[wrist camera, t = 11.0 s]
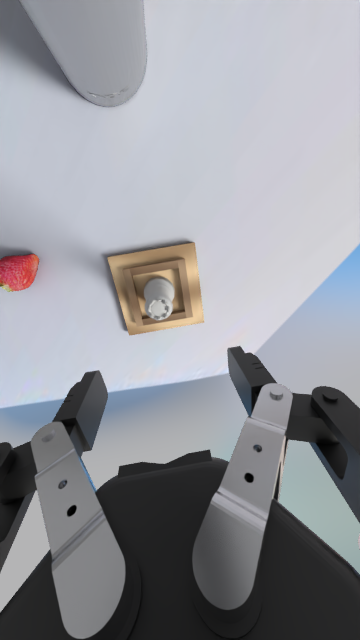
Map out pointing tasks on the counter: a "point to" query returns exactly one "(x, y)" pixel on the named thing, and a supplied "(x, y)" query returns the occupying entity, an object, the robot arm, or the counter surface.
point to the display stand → (153, 263)
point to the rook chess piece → (159, 298)
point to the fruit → (18, 271)
